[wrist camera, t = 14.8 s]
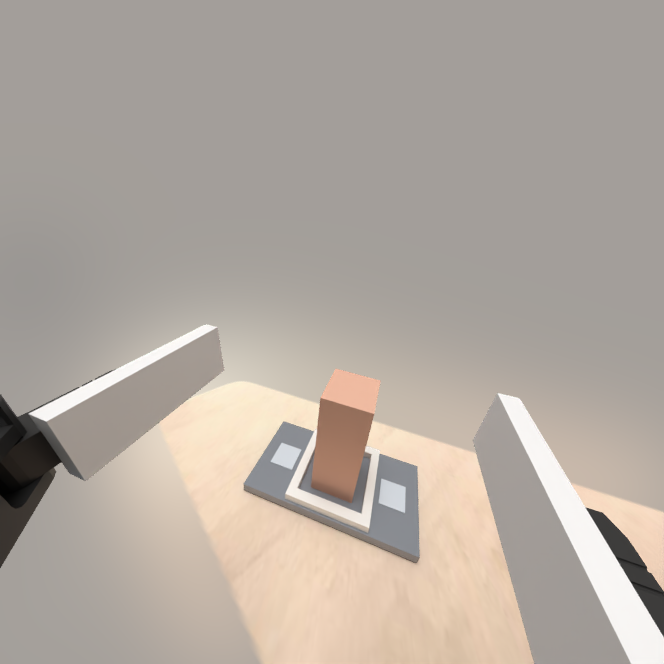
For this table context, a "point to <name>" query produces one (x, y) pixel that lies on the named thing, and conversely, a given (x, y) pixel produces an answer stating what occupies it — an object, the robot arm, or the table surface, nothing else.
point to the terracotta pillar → (343, 432)
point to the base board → (352, 518)
